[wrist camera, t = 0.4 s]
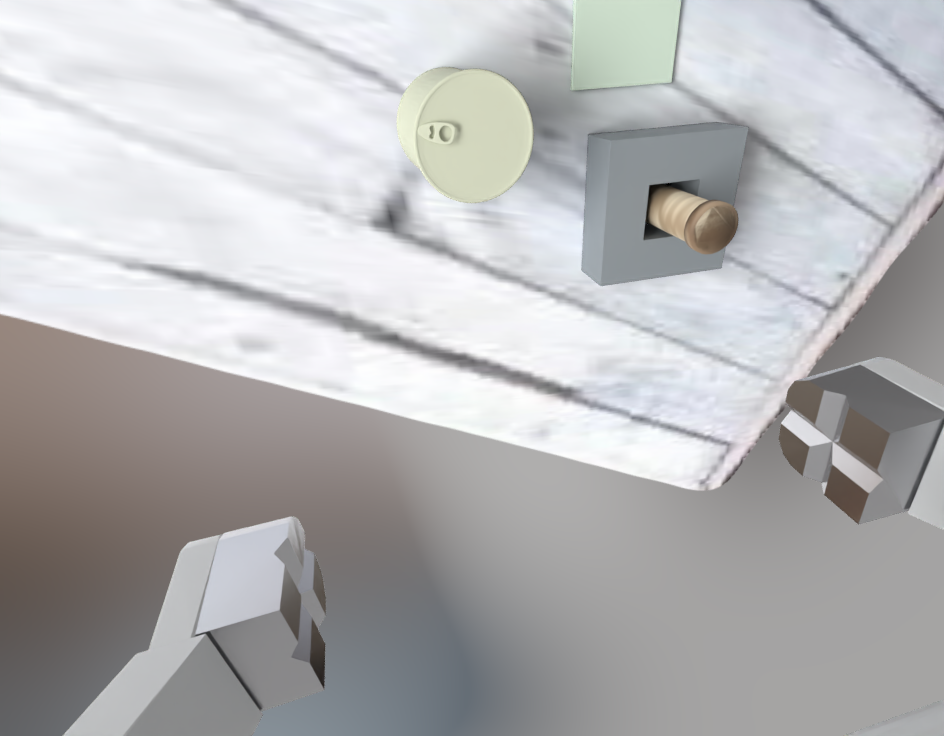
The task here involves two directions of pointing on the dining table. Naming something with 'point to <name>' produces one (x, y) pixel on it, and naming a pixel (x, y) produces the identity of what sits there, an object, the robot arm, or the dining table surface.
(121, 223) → the dining table surface
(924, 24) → the dining table surface
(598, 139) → the socket
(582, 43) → the mat
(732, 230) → the plug
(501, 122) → the can
